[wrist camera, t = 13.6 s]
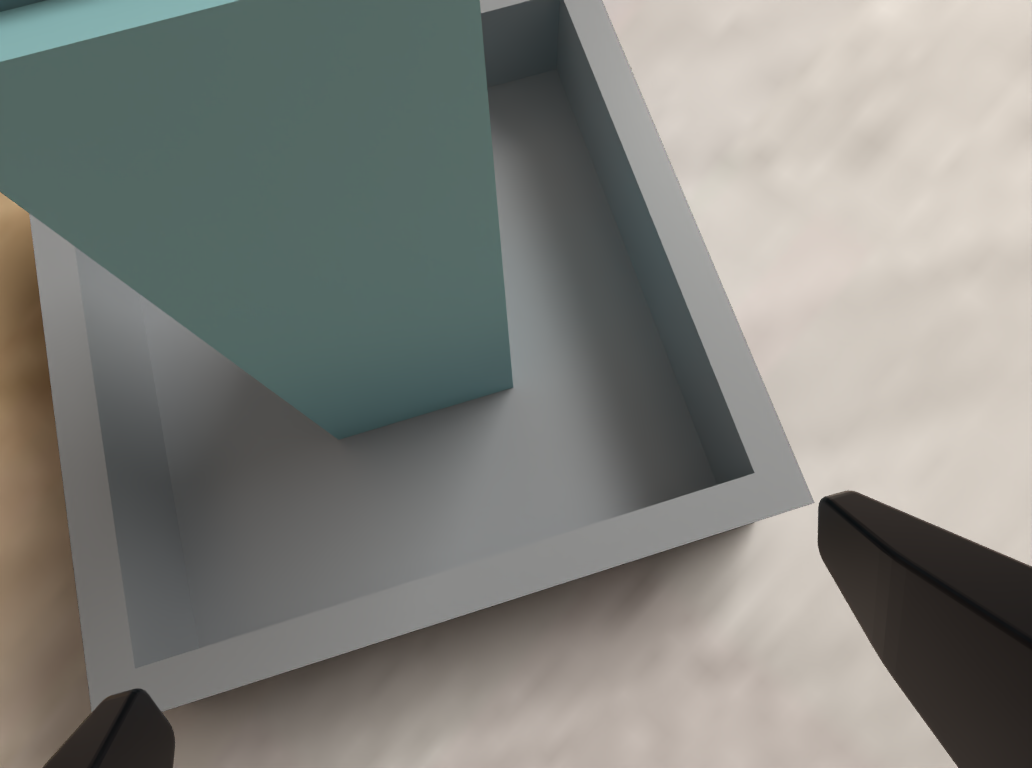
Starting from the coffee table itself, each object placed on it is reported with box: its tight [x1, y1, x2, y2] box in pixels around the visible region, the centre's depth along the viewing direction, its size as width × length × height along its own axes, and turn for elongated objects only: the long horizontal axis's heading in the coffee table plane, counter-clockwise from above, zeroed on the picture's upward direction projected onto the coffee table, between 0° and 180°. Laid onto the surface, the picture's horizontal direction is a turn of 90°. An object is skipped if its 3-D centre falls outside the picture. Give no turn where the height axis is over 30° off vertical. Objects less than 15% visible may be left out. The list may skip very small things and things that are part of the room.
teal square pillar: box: [0, 0, 513, 440], centre depth 13 cm, size 5×5×14 cm
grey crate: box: [29, 0, 814, 712], centre depth 19 cm, size 16×16×4 cm
